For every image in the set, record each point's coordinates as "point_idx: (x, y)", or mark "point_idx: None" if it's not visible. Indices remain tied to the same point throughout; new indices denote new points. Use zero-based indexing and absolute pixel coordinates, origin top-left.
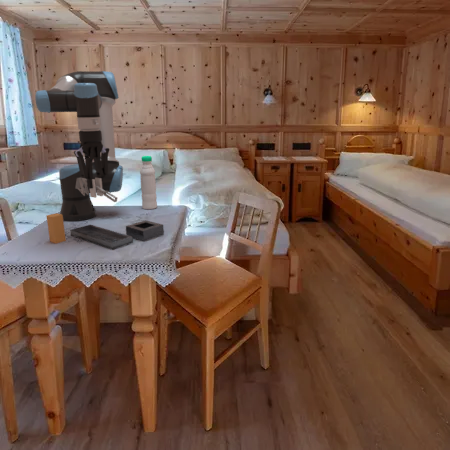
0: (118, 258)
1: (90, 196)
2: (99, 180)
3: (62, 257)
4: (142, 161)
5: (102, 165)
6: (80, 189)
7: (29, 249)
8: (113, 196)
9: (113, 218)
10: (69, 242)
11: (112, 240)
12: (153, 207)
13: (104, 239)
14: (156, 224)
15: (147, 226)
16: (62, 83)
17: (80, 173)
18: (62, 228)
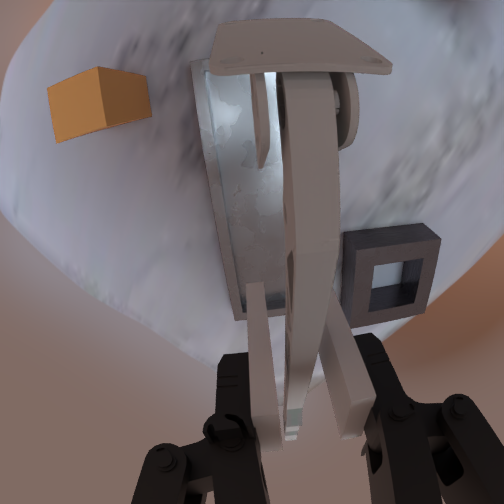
0: (215, 357)
1: (246, 286)
2: (337, 421)
3: (100, 268)
4: None
5: (471, 501)
6: (251, 90)
7: (40, 135)
8: (287, 435)
9: (435, 10)
10: (154, 146)
11: (271, 260)
12: None
13: (236, 277)
14: (418, 300)
15: (416, 259)
16: None
17: (135, 492)
18: (125, 122)
